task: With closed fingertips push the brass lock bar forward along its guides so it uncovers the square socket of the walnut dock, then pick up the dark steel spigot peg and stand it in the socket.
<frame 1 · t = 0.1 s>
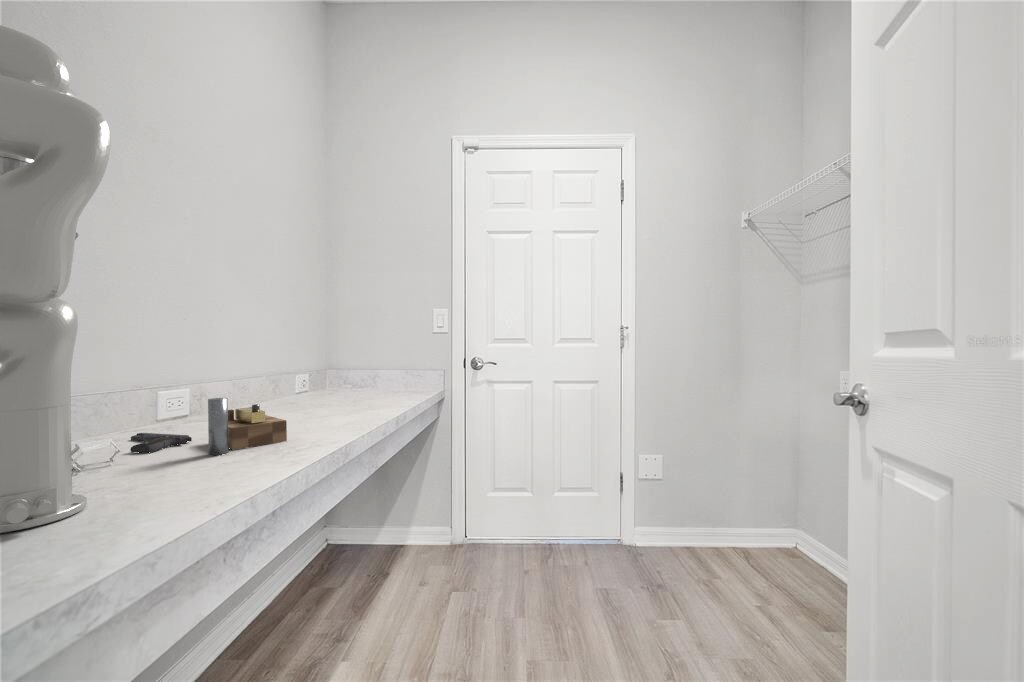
hand: (11, 273, 80), 37 cm above the counter, tool pointing down, fingers open, 9 cm apart
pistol: (145, 448, 109), on the counter
spigot peg: (218, 453, 100), on the counter
white folding stand: (89, 470, 89), on the counter
dock: (250, 441, 112), on the counter
lock bar: (249, 411, 111), point 7 cm above the counter, slide at 0.0 cm
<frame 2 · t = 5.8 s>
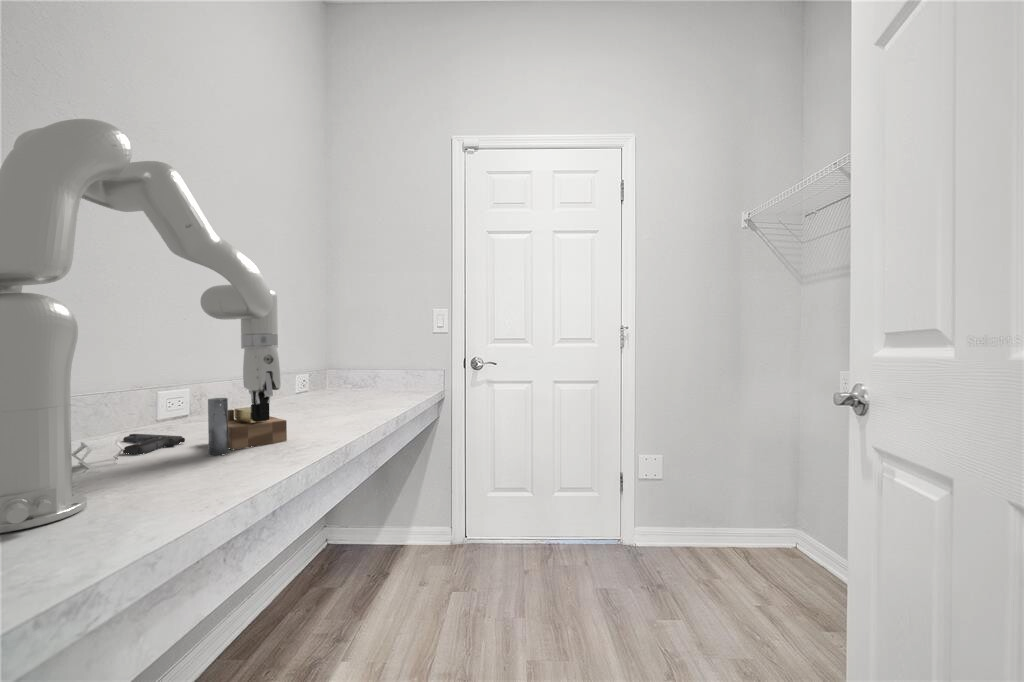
hand: (260, 420, 107), 6 cm above the counter, tool pointing down, fingers closed
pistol: (138, 449, 108), on the counter
white folding stand: (96, 468, 91), on the counter
lock bar: (249, 411, 112), point 7 cm above the counter, slide at 0.6 cm, touching gripper
everything else where it was.
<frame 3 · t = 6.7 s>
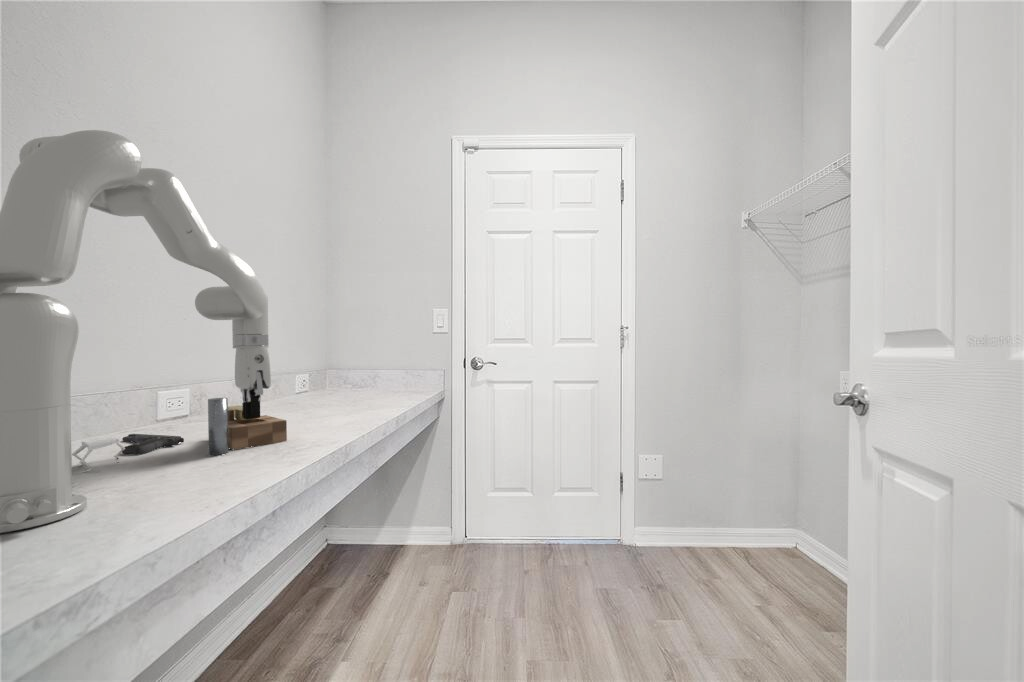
hand: (251, 418, 111), 6 cm above the counter, tool pointing down, fingers closed
lock bar: (240, 409, 115), point 7 cm above the counter, slide at 5.8 cm, touching gripper
everything else where it was.
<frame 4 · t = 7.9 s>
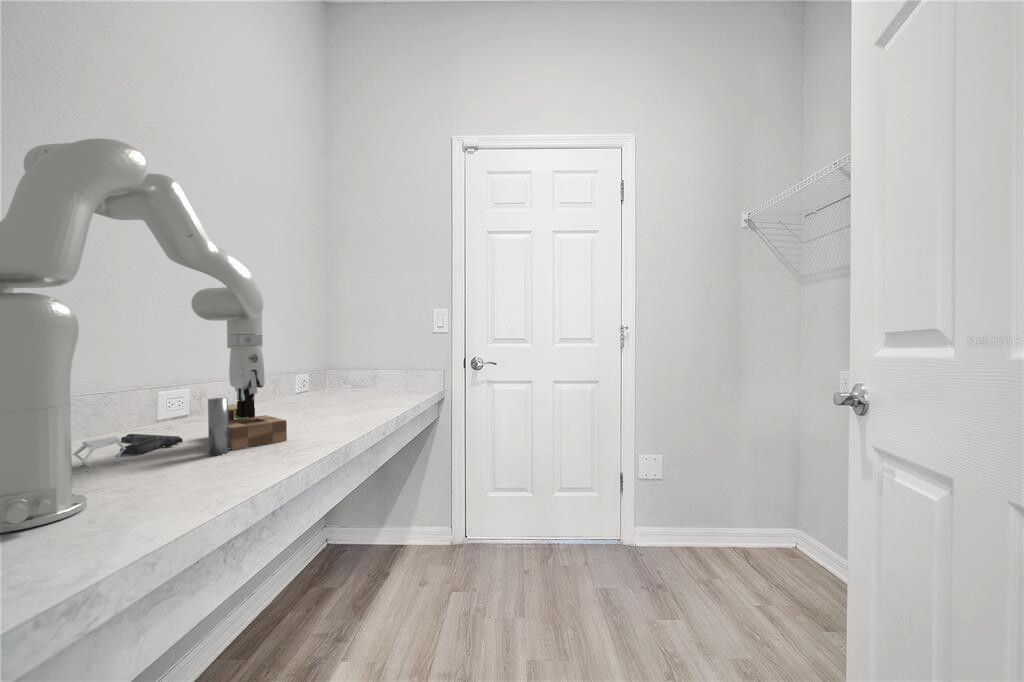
hand: (246, 416, 113), 6 cm above the counter, tool pointing down, fingers closed
lock bar: (235, 408, 117), point 7 cm above the counter, slide at 9.3 cm, touching gripper
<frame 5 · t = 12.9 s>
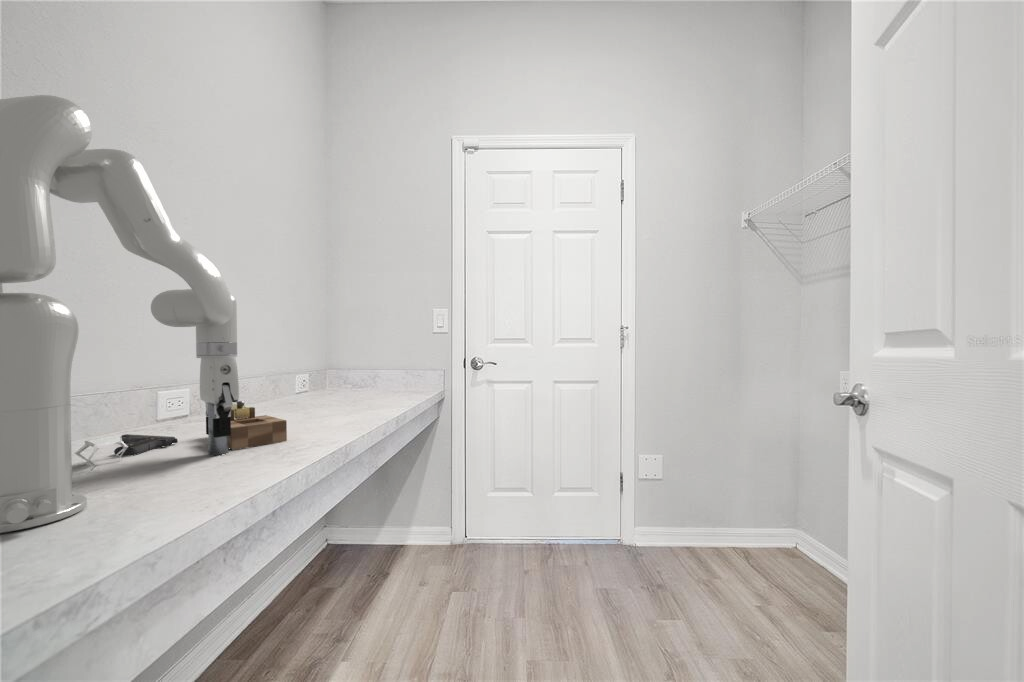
hand: (218, 434, 100), 4 cm above the counter, tool pointing down, fingers closed on spigot peg, 3 cm apart
spigot peg: (218, 453, 100), on the counter, touching gripper
lock bar: (235, 408, 117), point 7 cm above the counter, slide at 9.3 cm
when the fingers open (6 cm above the counter, at t = 18.9 s): spigot peg drops 2 cm, resting in dock.
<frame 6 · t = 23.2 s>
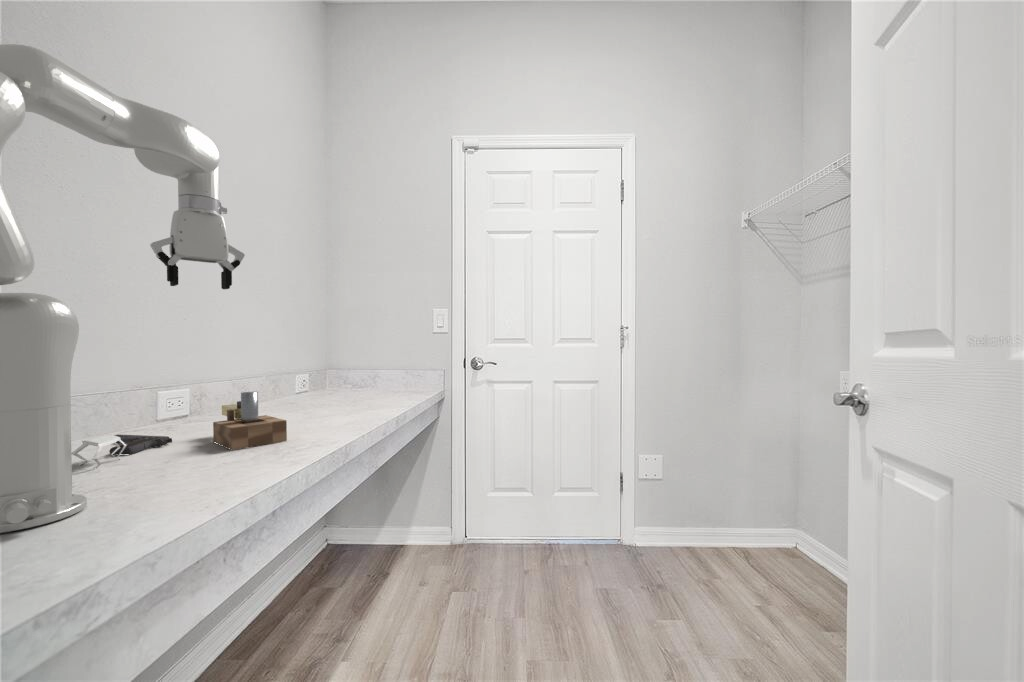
hand: (200, 287, 100), 36 cm above the counter, tool pointing down, fingers open, 9 cm apart
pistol: (123, 450, 107), on the counter
spigot peg: (250, 441, 111), resting in dock
at the end: lock bar slide at 9.3 cm; spigot peg 0.0 cm off-centre on the dock, point 0.0 cm above the dock's base; spigot peg tilted 0° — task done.
